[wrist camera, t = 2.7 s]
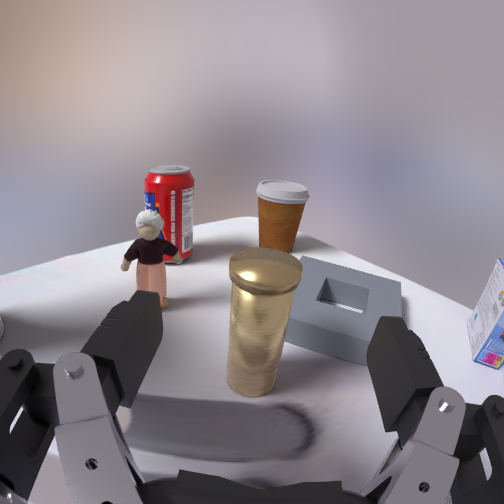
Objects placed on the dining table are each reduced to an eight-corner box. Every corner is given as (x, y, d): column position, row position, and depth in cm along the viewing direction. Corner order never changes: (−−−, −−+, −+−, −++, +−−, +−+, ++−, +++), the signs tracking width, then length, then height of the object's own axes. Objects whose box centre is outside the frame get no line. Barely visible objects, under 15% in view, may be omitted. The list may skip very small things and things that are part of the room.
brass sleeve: (213, 386, 26) (215, 268, 20) (238, 353, 31) (248, 242, 25) (265, 407, 24) (289, 291, 19) (285, 370, 29) (310, 258, 23)
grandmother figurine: (132, 318, 34) (119, 220, 28) (125, 301, 36) (114, 209, 31) (188, 304, 38) (187, 210, 32) (177, 289, 40) (175, 201, 35)
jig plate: (260, 332, 34) (263, 309, 32) (299, 274, 47) (302, 255, 46) (390, 372, 29) (401, 349, 27) (393, 301, 42) (400, 282, 40)
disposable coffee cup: (243, 238, 59) (249, 179, 54) (286, 235, 62) (294, 180, 57) (262, 260, 51) (269, 192, 46) (309, 256, 54) (320, 193, 49)
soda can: (194, 265, 47) (195, 172, 41) (145, 267, 45) (141, 173, 39) (191, 245, 54) (193, 163, 47) (149, 246, 52) (147, 164, 45)
